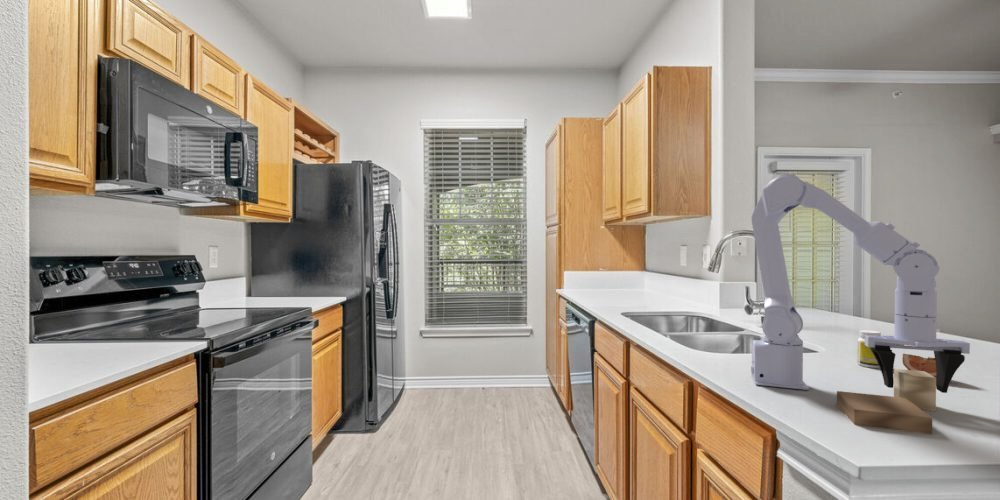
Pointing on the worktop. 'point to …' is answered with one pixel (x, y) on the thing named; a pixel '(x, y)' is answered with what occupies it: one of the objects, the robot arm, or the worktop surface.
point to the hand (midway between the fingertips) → (914, 388)
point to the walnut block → (884, 412)
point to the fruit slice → (920, 364)
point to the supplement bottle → (866, 350)
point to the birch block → (916, 388)
